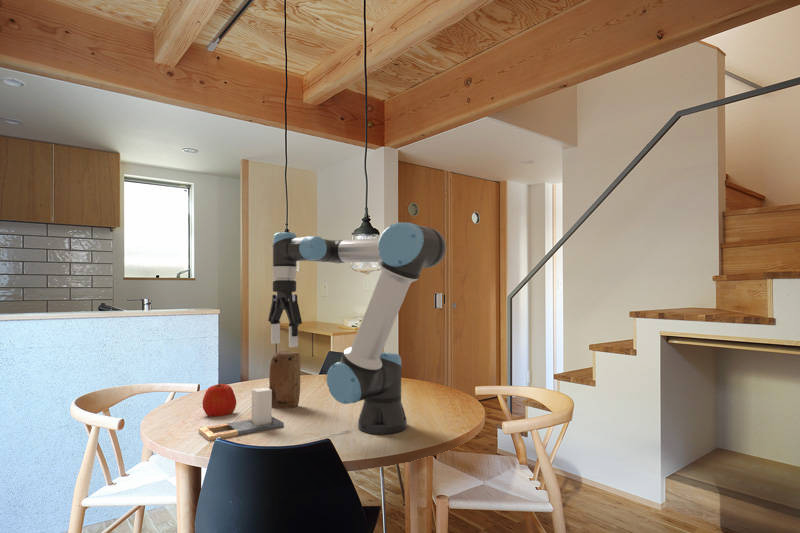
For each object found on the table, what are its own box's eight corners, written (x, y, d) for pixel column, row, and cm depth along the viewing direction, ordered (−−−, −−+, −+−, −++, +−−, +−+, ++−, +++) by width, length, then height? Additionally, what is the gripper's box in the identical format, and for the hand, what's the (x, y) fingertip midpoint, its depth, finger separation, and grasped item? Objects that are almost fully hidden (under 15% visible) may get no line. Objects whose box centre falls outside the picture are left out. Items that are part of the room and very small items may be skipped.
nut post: (271, 426, 143) (271, 389, 144) (257, 428, 140) (257, 391, 141) (265, 422, 147) (266, 387, 147) (251, 425, 144) (252, 389, 144)
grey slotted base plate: (283, 429, 143) (283, 422, 143) (208, 444, 129) (209, 436, 129) (270, 422, 150) (270, 415, 151) (198, 435, 137) (198, 428, 137)
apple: (202, 412, 162) (203, 381, 163) (235, 409, 166) (236, 379, 166) (201, 420, 152) (202, 387, 153) (236, 417, 156) (237, 385, 156)
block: (301, 405, 173) (302, 350, 174) (296, 410, 165) (296, 353, 166) (272, 404, 173) (273, 350, 174) (265, 409, 166) (266, 353, 167)
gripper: (312, 279, 146) (312, 347, 145) (279, 281, 165) (278, 341, 164) (290, 278, 141) (290, 349, 140) (258, 280, 161) (258, 342, 160)
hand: (284, 345), depth 152 cm, fingers open, 13 cm apart
